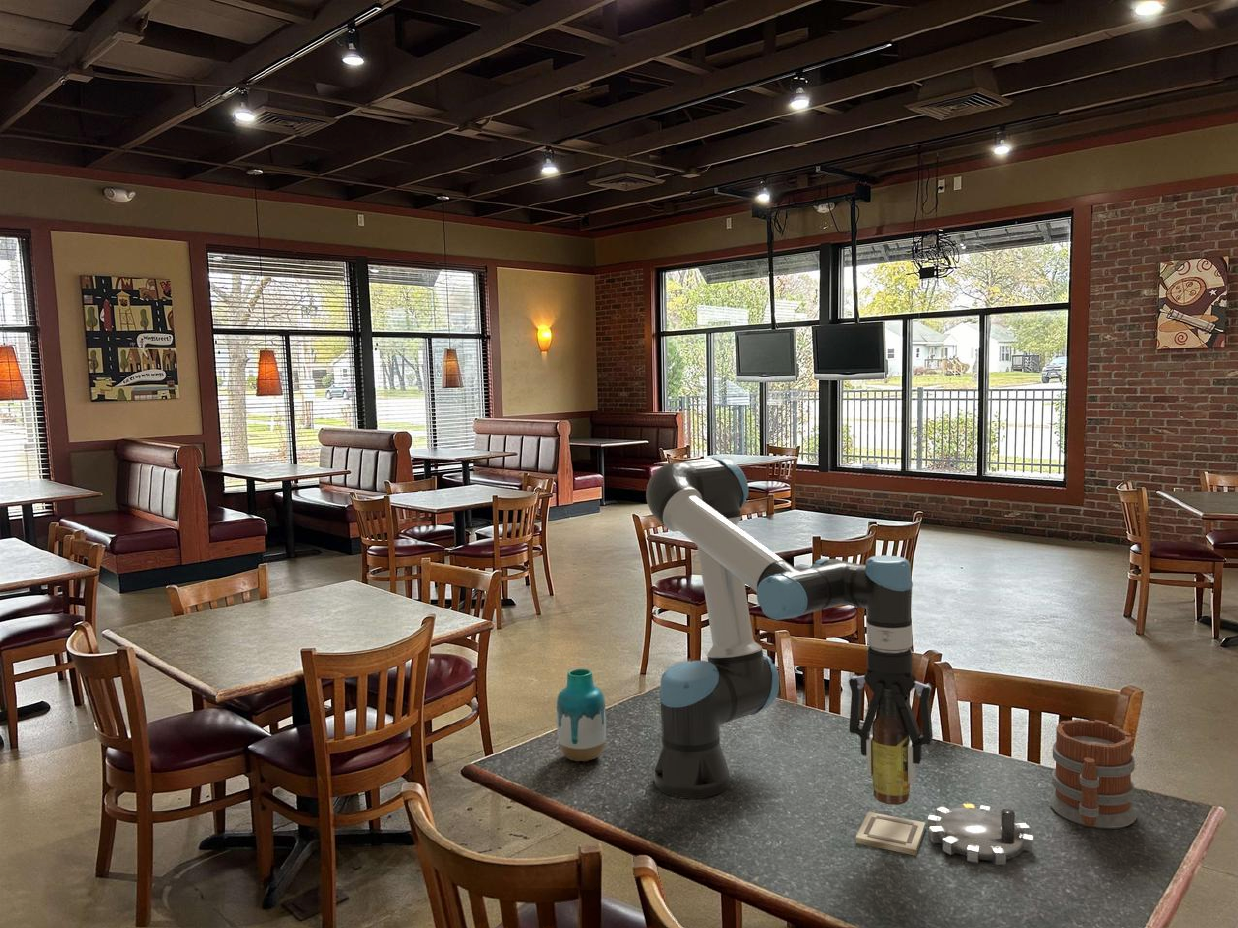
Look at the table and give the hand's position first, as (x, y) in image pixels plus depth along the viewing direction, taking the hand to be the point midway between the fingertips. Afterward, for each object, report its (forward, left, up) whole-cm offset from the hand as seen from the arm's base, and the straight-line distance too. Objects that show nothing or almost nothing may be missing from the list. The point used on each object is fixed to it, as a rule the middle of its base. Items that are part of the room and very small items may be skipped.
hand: (891, 776), depth 153 cm
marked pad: (0, 0, -11) cm, 11 cm away
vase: (-66, +6, -11) cm, 67 cm away
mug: (+31, +21, -11) cm, 39 cm away
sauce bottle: (0, 0, -4) cm, 4 cm away
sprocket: (+14, +4, -11) cm, 18 cm away
